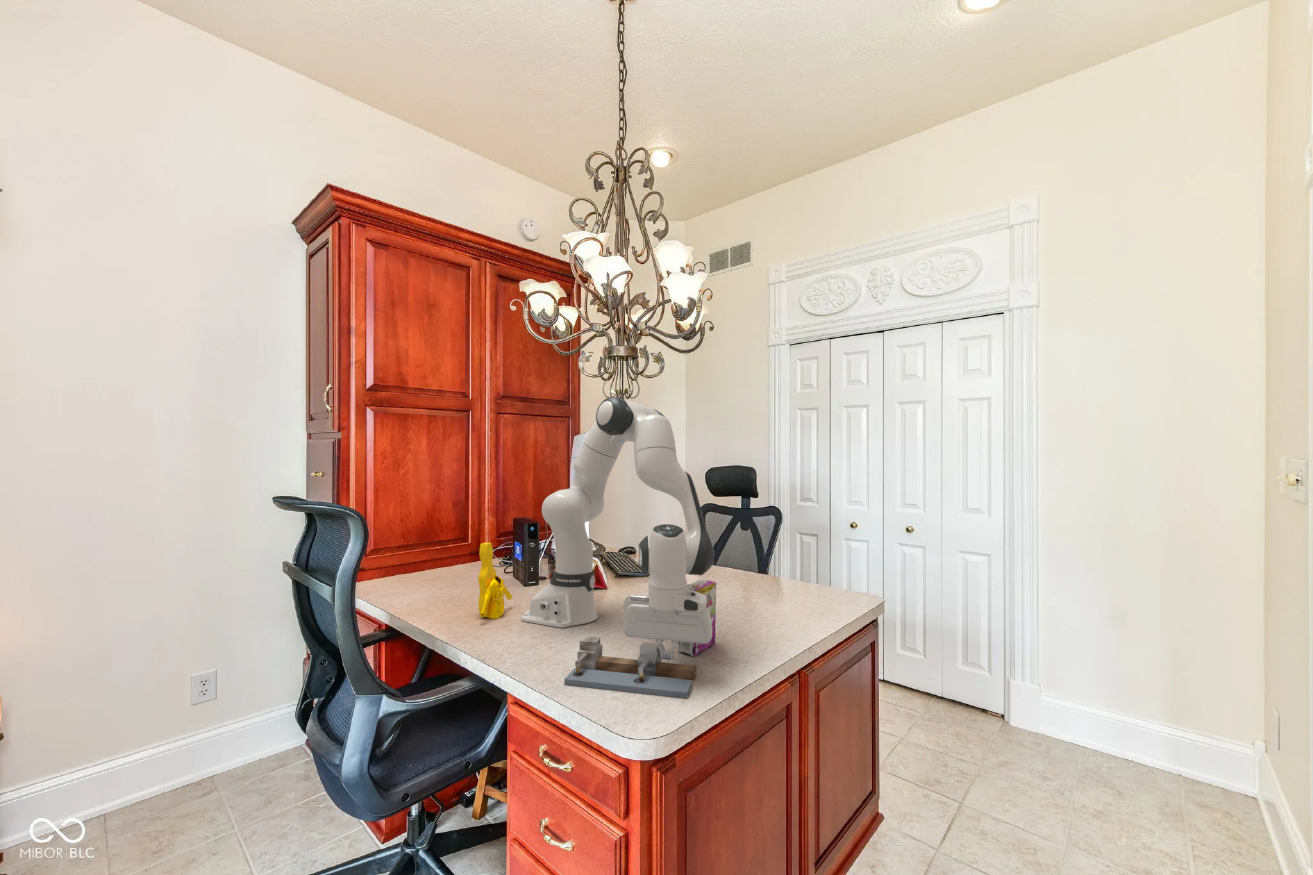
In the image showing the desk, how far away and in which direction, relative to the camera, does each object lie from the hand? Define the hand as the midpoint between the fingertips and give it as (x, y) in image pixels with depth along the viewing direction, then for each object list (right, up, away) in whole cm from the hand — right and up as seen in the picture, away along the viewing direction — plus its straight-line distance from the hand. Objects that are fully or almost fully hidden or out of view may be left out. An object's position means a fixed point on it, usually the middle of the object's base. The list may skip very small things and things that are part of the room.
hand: (667, 658), depth 122 cm
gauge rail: (-7, -3, -1) cm, 8 cm away
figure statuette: (-53, -4, +41) cm, 67 cm away
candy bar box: (+8, -4, +15) cm, 18 cm away
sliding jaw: (-5, -3, -2) cm, 6 cm away
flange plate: (-9, -3, -6) cm, 11 cm away
